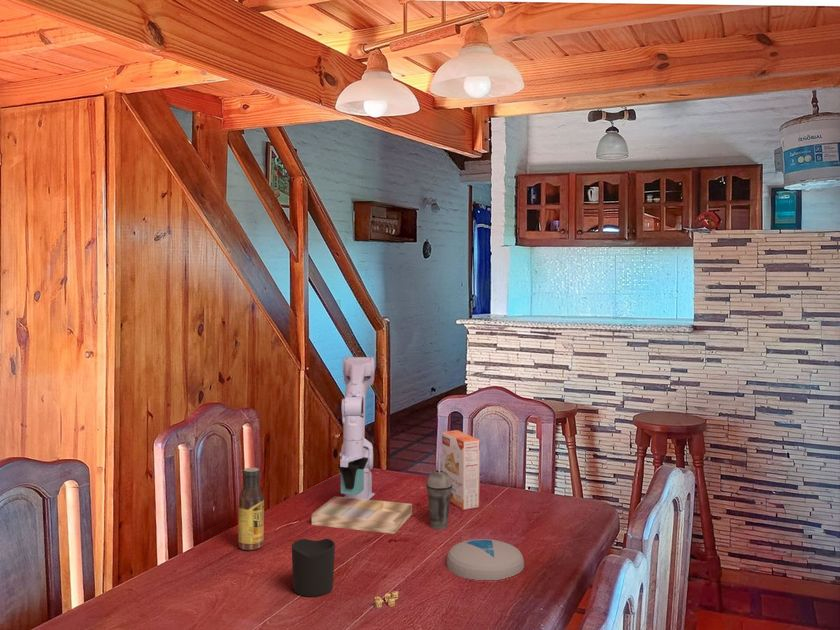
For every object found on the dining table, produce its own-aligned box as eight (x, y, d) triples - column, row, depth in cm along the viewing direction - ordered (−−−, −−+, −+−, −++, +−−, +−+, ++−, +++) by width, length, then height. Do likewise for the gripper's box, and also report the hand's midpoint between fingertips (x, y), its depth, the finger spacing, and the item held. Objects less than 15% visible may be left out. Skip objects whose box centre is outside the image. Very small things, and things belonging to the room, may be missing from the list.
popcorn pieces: (398, 599, 159) (398, 590, 159) (398, 610, 154) (398, 601, 154) (374, 599, 159) (374, 590, 158) (374, 610, 154) (374, 601, 153)
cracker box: (440, 497, 228) (441, 430, 226) (457, 495, 230) (458, 429, 229) (462, 511, 215) (462, 440, 214) (479, 508, 218) (480, 438, 216)
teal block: (347, 488, 212) (347, 467, 212) (363, 489, 211) (363, 469, 210) (340, 493, 207) (340, 472, 207) (357, 495, 206) (357, 473, 206)
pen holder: (314, 576, 169) (314, 533, 168) (343, 587, 163) (343, 543, 162) (282, 589, 162) (282, 545, 161) (311, 602, 156) (311, 556, 155)
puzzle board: (311, 524, 203) (311, 514, 202) (334, 506, 218) (334, 496, 218) (394, 533, 196) (394, 522, 196) (411, 514, 212) (411, 503, 212)
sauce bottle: (257, 552, 182) (257, 473, 181) (234, 550, 184) (233, 472, 182) (268, 543, 189) (267, 467, 188) (245, 541, 190) (244, 465, 189)
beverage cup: (452, 522, 205) (453, 452, 204) (451, 532, 198) (452, 458, 197) (426, 521, 206) (427, 451, 205) (424, 530, 199) (425, 457, 197)
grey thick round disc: (460, 586, 165) (461, 564, 164) (437, 555, 183) (437, 535, 182) (536, 577, 170) (537, 556, 169) (506, 548, 188) (506, 529, 187)
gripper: (349, 432, 216) (349, 477, 217) (330, 443, 202) (330, 491, 203) (372, 434, 214) (372, 479, 215) (353, 445, 200) (353, 494, 201)
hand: (353, 485), depth 209 cm, fingers closed on teal block, 5 cm apart
